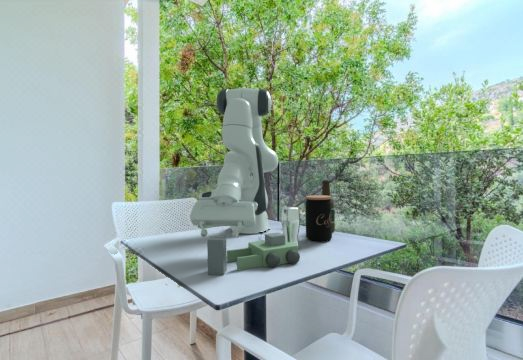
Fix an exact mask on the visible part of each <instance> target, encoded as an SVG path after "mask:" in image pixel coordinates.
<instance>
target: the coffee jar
mask: <svg viewBox="0 0 523 360" xmlns="http://www.w3.org/2000/svg"><path fill="white" fill-rule="evenodd" d="M331 198H332V195H331V196H326V195H322V194H319V195H315V194H313V195H306V196H305V198H304V199H305V200H306V201H305V237H306V239H307V241H310V242H314V243H327V242H330V241H331V239H333V238H332V237H333V232H332V203H331V201H330V200H331Z"/></svg>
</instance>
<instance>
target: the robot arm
mask: <svg viewBox="0 0 523 360" xmlns="http://www.w3.org/2000/svg"><path fill="white" fill-rule="evenodd" d="M272 102H273V100H272V96H271V93H270V92H269V91H268V90H267V89H264V88H259V89H257V88H251V87H243V88H231V89H229V88H225V89H220V91H219V92H218V93H217V96H216V103H215V104H216V107H217V111H218V113H219V114H220V115H222V116H223V120H222V129H221V131H222V132H221V134H222V135H221V136H222V137H221V138H222V143H223V145H224V146H225V147H226V148H227V149H228V150H230V151H228V152H227V153H226V154H225V155H224V158H223V165H222V167H221V170H220V172H219V175H218V178H217V181H216V182H217V185H216V187H215V189H211V190H209V191H204V192H200V193H199V194H198V200H197V201H196V202H195V203H194V205H193V206H192V208H191V211H190V213H189V214H190V215H189V220H190V222H191V224H192V226H195V227H197V226H199V227H200V230H201V231H200V237H203V238H207V237H208V233H209V232H208V230H207V228H206V227H229V229H230V230H231V232H232V233H231V236H232V238H234V239H235V238H238V237H239V234H245V235H246V234H247V235H248V234H249V235H252V234H259V233H258V232H259V231H265V230H267V229H270V230H271V226H269V223H268V222H269V220H268V214H267V212H266V210H267V208H268V204H269V198H268V194H267V193H268V192H267V190H266V181H265V173H269V172H274V171H275V170H276V169H277V168H278V166H279V156H278V154H277V153H276V152H275V151H274V150H273V149H271V148H270V147H269V145H267V143H266V142H265V141H264V137H263V128H262V127H263V126H262V123H263V122H262V117H265V116H267V115H268V114H269V113H270V111H271V109H272V106H273V105H272V104H273V103H272ZM250 174H252V177H251V175H250Z"/></svg>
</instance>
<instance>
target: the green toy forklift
mask: <svg viewBox="0 0 523 360" xmlns="http://www.w3.org/2000/svg"><path fill="white" fill-rule="evenodd" d="M247 246H248V247H243V248H237V249H230V250H229V249H228V250H226V257H227V263H232V262H236V270H238V271H243V270H247V269H248V270H249V269H253V268H259V267H263V268H266V267H271V268H277V267H278V266H280V265H284V264H291V265H296V264H298V263H299V262H300V258H301V255H300V253H299V250H298V249H299V248H298V246H297V245H294V244H292V243H289V242H287V241H285V235H284V234H282V233H280V232H274V233H273V232H272V233H264V240H257V241H250V242H248V244H247Z"/></svg>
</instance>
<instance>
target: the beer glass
mask: <svg viewBox="0 0 523 360" xmlns="http://www.w3.org/2000/svg"><path fill="white" fill-rule="evenodd" d="M280 217H281V229H282V233H283V235H285V241H287V242H289V243H292V244H294V245H297V246H298V249H300V243H299V233H300V226H301V224H300V223H301V215H300V207H298V206H283V207H282V208H281V216H280Z"/></svg>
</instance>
